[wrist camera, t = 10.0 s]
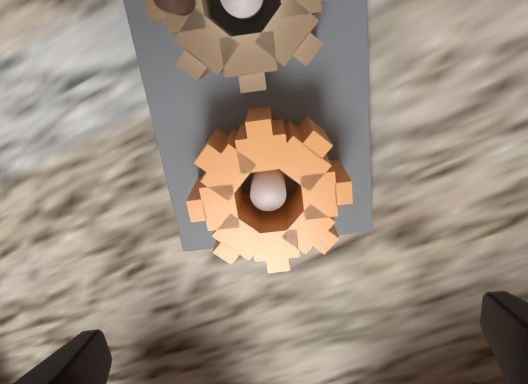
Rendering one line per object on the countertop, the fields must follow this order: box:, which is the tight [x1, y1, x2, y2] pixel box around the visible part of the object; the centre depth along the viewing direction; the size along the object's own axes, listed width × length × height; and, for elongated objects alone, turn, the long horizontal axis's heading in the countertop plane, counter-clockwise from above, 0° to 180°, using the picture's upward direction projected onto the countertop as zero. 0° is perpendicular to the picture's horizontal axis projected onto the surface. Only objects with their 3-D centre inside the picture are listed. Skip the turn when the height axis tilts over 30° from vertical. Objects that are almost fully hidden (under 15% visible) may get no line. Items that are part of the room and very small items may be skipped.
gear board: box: [123, 0, 372, 251], centre depth 17 cm, size 15×10×4 cm, turn 7°
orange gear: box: [186, 106, 353, 273], centre depth 17 cm, size 7×7×3 cm
